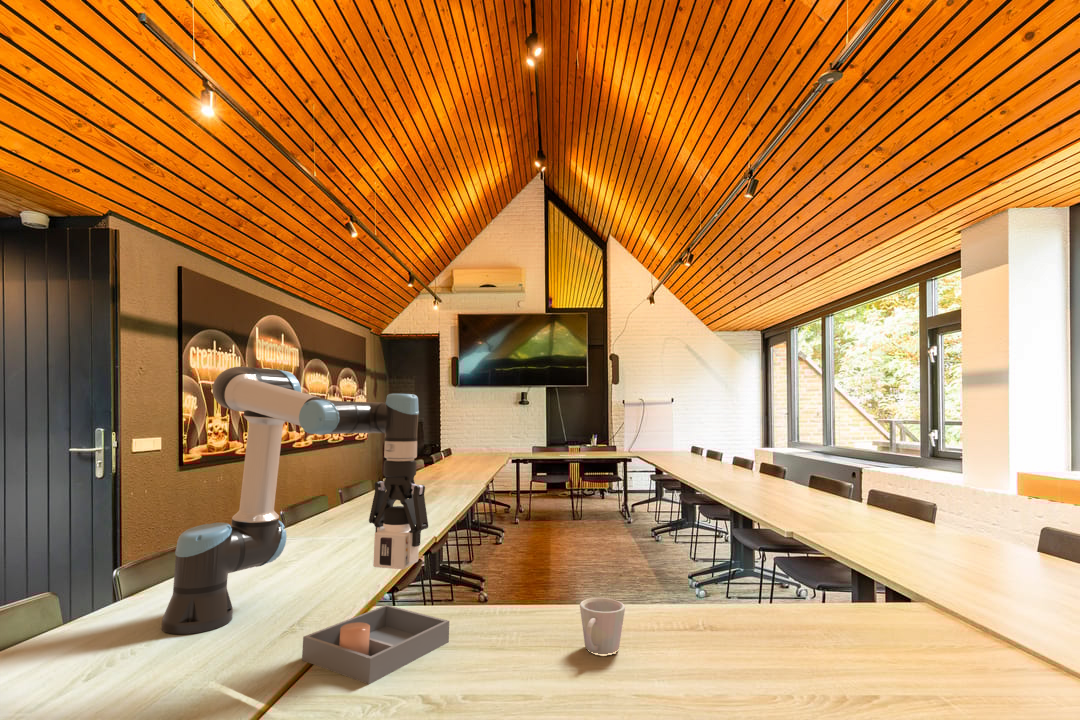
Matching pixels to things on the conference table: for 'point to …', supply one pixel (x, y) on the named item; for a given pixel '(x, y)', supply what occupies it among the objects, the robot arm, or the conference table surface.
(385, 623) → the tray
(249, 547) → the robot arm
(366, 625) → the peach cylinder
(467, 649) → the conference table surface
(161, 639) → the conference table surface
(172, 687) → the conference table surface
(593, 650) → the mug
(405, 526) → the container
